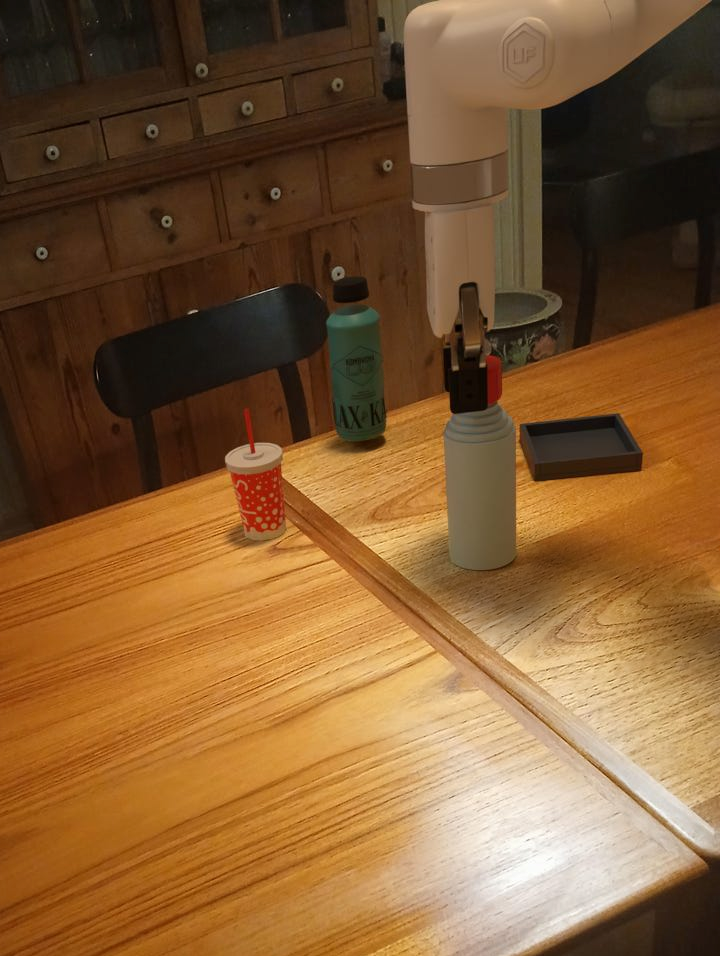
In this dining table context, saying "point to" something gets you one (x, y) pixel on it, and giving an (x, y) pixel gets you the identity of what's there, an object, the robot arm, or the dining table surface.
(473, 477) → the water bottle
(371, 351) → the beverage bottle
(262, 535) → the beverage cup
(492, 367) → the cap
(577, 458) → the dish
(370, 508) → the dining table surface
